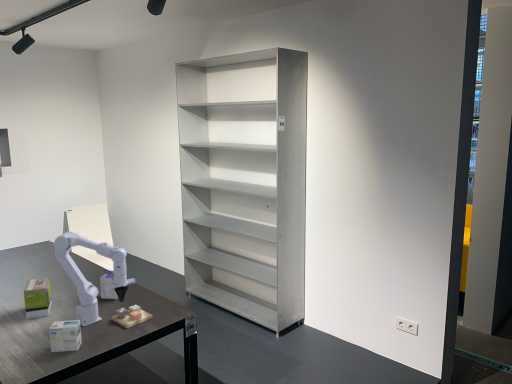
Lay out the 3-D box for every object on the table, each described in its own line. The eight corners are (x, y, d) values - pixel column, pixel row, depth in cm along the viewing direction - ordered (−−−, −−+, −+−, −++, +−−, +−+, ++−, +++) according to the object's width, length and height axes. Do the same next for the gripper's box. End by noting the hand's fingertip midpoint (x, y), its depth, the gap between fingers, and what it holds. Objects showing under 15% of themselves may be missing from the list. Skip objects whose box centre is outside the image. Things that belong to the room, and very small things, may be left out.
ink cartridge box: (122, 295, 230) (121, 270, 227) (118, 299, 224) (116, 273, 222) (105, 294, 231) (104, 269, 229) (100, 298, 226) (99, 272, 223)
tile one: (134, 320, 198) (134, 315, 197) (129, 317, 200) (129, 312, 200) (141, 317, 201) (141, 312, 200) (136, 315, 203) (136, 310, 203)
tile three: (120, 317, 199) (120, 312, 198) (115, 315, 201) (115, 310, 201) (128, 314, 202) (127, 309, 201) (123, 312, 204) (123, 307, 204)
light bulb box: (82, 342, 180) (80, 319, 179) (78, 351, 174) (76, 326, 172) (55, 344, 179) (53, 320, 177) (50, 353, 172) (48, 328, 170)
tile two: (133, 314, 204) (133, 309, 204) (128, 311, 207) (128, 306, 206) (140, 311, 207) (140, 306, 207) (136, 309, 210) (135, 304, 209)
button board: (126, 328, 193) (126, 325, 193) (111, 319, 201) (111, 316, 201) (152, 318, 204) (152, 315, 203) (136, 310, 212) (136, 307, 212)
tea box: (30, 306, 215) (28, 279, 213) (52, 304, 219) (50, 276, 216) (25, 319, 201) (23, 290, 199) (49, 316, 205) (46, 287, 202)
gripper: (110, 280, 190) (112, 308, 192) (138, 271, 201) (139, 298, 203) (102, 276, 195) (103, 304, 197) (129, 268, 206) (131, 294, 208)
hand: (121, 301), depth 200 cm, fingers closed
